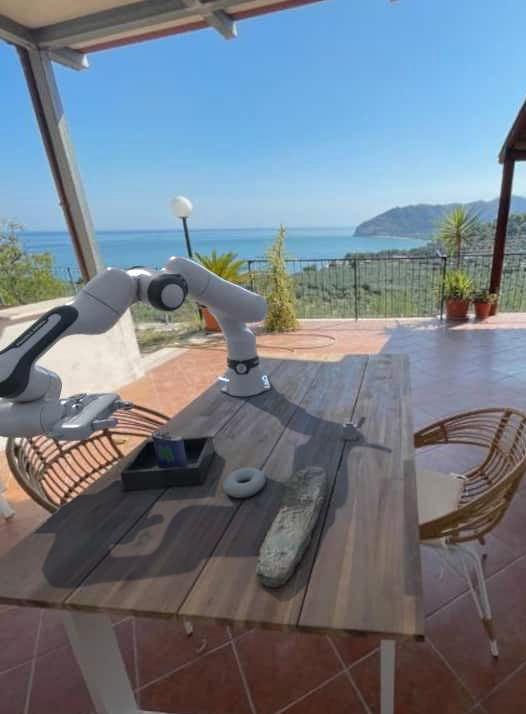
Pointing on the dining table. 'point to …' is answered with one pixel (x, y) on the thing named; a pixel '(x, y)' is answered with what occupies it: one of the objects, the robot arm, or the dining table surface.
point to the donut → (247, 489)
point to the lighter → (352, 428)
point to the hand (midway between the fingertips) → (124, 413)
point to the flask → (169, 450)
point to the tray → (150, 475)
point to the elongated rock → (292, 526)
